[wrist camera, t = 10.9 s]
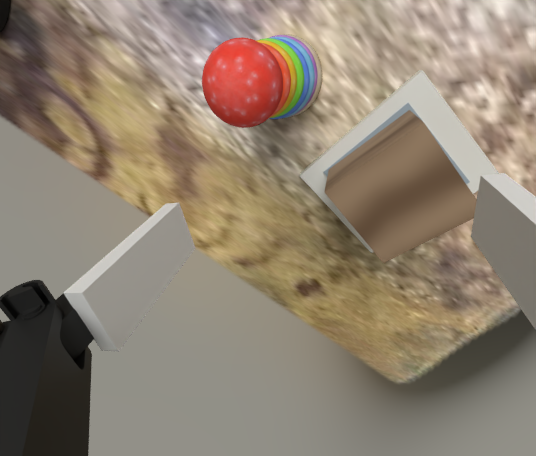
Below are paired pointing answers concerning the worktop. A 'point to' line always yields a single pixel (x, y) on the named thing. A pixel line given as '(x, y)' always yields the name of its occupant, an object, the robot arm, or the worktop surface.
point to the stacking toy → (261, 79)
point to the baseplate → (399, 102)
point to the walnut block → (400, 189)
